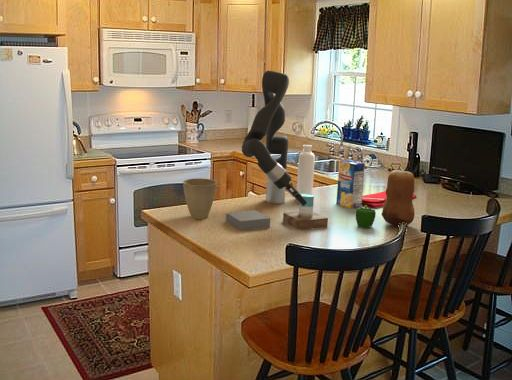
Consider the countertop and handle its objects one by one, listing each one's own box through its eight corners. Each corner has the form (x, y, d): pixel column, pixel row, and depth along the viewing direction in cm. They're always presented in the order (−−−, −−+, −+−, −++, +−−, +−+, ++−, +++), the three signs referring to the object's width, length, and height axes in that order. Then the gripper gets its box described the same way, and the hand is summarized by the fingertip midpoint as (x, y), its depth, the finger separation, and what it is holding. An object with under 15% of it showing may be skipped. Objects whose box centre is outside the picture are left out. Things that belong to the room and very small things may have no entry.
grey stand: (225, 221, 251) (226, 212, 251) (254, 218, 258) (254, 210, 257) (240, 230, 239) (240, 221, 239) (269, 227, 246) (270, 218, 245)
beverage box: (351, 208, 284) (355, 164, 279) (336, 203, 293) (339, 160, 288) (361, 207, 288) (365, 163, 283) (346, 202, 297) (349, 159, 292)
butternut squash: (407, 222, 264) (413, 168, 258) (416, 230, 251) (422, 173, 245) (377, 221, 263) (382, 167, 258) (385, 229, 250) (390, 172, 245)
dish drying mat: (416, 198, 314) (417, 192, 313) (374, 210, 285) (375, 202, 284) (391, 193, 324) (392, 186, 324) (348, 203, 296) (349, 196, 295)
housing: (301, 216, 249) (302, 196, 247) (298, 213, 254) (299, 193, 252) (312, 216, 250) (313, 196, 248) (309, 213, 255) (311, 193, 253)
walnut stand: (283, 221, 256) (283, 212, 255) (309, 218, 262) (310, 210, 261) (299, 230, 244) (300, 220, 243) (327, 227, 250) (328, 218, 249)
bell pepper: (360, 222, 259) (362, 201, 257) (377, 226, 254) (379, 204, 252) (351, 226, 253) (352, 204, 250) (367, 230, 248) (369, 207, 245)
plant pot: (178, 213, 261) (179, 178, 258) (210, 211, 267) (211, 177, 263) (186, 222, 248) (187, 186, 244) (220, 220, 253) (221, 184, 250)
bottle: (312, 201, 295) (316, 146, 289) (296, 200, 295) (299, 146, 289) (311, 197, 303) (314, 144, 297) (295, 197, 303) (299, 143, 297)
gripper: (287, 172, 239) (313, 199, 243) (281, 166, 253) (305, 192, 257) (274, 185, 240) (300, 212, 244) (269, 178, 254) (293, 203, 258)
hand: (303, 201), depth 250 cm, fingers open, 8 cm apart
